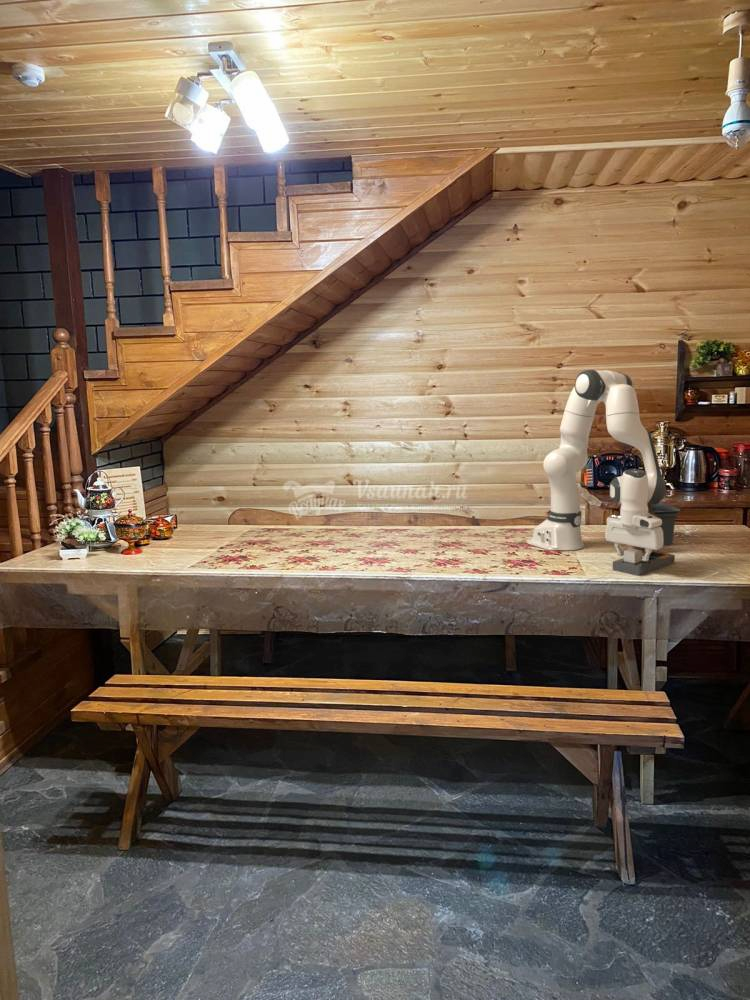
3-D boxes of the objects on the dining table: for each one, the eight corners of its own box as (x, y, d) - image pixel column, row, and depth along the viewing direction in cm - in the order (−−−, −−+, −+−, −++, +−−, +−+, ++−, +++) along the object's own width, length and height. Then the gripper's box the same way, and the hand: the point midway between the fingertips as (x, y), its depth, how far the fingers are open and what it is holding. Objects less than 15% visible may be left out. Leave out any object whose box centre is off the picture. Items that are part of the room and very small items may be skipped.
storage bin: (625, 536, 300) (626, 501, 298) (662, 534, 301) (663, 500, 298) (647, 548, 279) (648, 512, 277) (687, 546, 280) (688, 510, 277)
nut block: (623, 570, 250) (623, 550, 249) (630, 568, 252) (630, 548, 251) (634, 573, 247) (634, 552, 245) (641, 570, 249) (642, 550, 248)
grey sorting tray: (612, 571, 251) (612, 561, 250) (648, 559, 264) (648, 549, 264) (638, 577, 243) (639, 566, 243) (674, 564, 256) (674, 554, 256)
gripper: (601, 515, 252) (600, 554, 255) (656, 524, 236) (654, 565, 239) (612, 512, 256) (611, 550, 259) (666, 521, 240) (665, 561, 243)
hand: (632, 558), depth 249 cm, fingers open, 8 cm apart
